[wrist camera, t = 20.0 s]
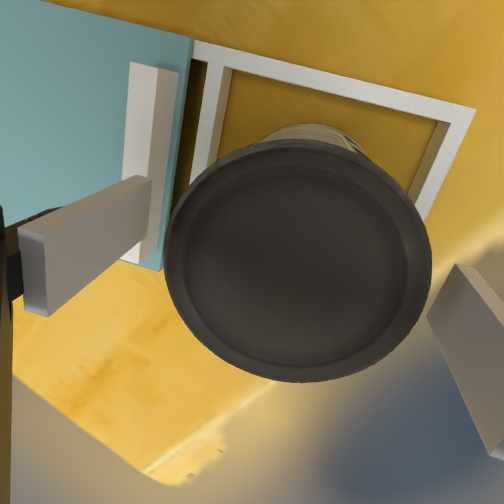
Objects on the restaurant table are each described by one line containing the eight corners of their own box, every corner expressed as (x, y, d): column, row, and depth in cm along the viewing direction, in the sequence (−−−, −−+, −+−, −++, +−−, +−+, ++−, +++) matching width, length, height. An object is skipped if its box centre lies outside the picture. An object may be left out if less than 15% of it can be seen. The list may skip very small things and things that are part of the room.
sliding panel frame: (-21, -11, 25) (-55, -23, 23) (461, 108, 22) (476, 109, 20) (-3, 202, 32) (-28, 209, 29) (369, 312, 29) (373, 330, 27)
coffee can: (407, 167, 24) (502, 237, 12) (326, 279, 29) (330, 420, 16) (278, 92, 24) (227, 79, 11) (215, 217, 28) (128, 310, 16)
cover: (-46, -21, 22) (-109, -42, 19) (193, 38, 21) (170, 27, 18) (-21, 213, 29) (-64, 228, 26) (162, 268, 28) (141, 290, 25)
